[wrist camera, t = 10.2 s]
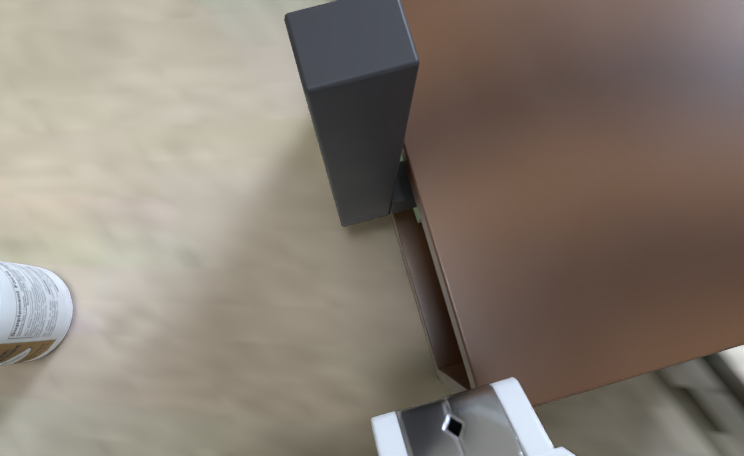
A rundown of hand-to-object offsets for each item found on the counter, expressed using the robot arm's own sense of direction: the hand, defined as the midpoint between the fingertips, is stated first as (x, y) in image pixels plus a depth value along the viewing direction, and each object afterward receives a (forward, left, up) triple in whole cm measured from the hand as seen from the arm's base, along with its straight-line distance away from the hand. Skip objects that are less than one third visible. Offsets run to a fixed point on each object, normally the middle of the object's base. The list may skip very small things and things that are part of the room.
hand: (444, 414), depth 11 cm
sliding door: (+9, -1, -13) cm, 16 cm away
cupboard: (+7, -9, -14) cm, 18 cm away
